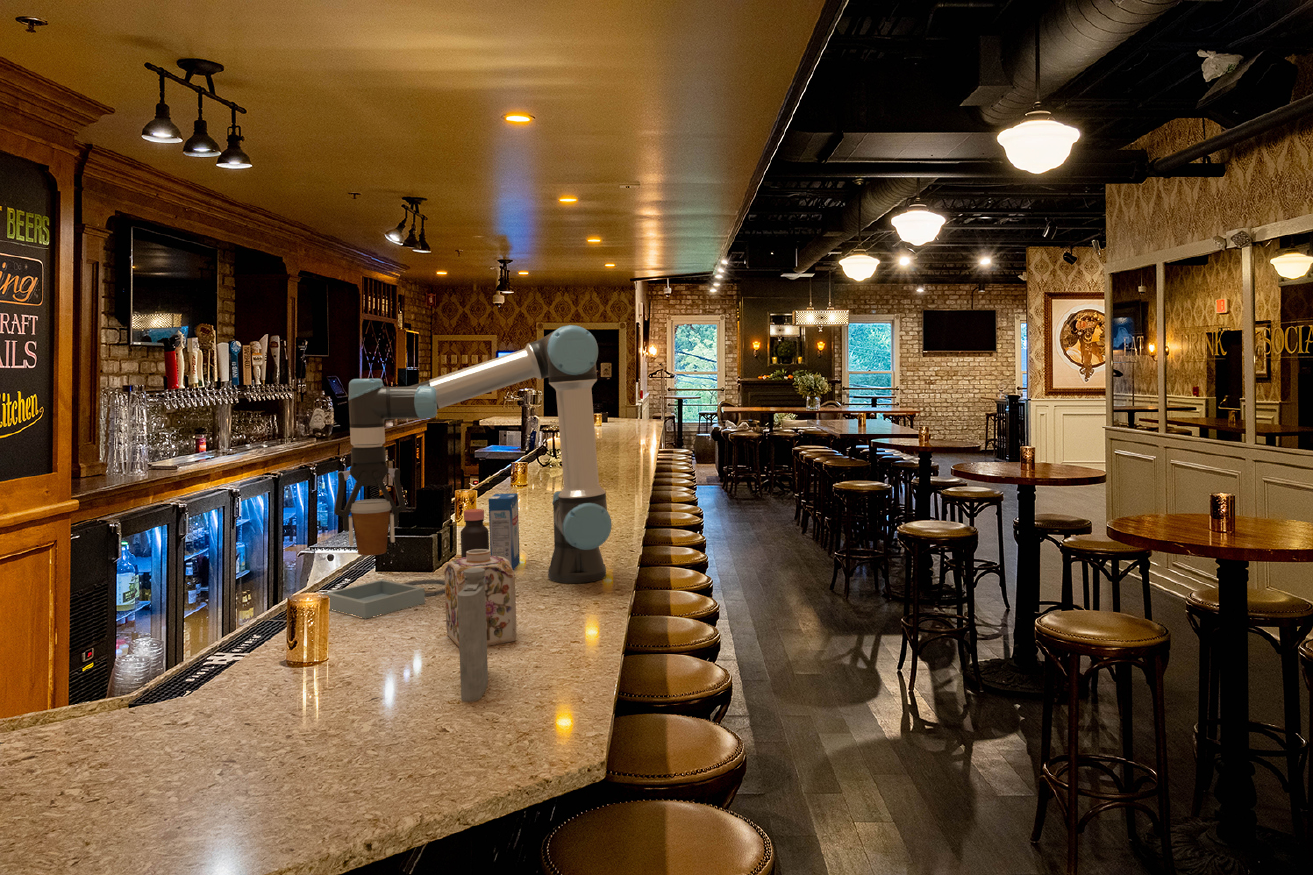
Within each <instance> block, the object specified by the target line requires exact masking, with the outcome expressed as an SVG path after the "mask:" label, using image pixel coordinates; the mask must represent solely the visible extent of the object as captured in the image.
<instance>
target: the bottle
mask: <svg viewBox="0 0 1313 875" xmlns="http://www.w3.org/2000/svg"><path fill="white" fill-rule="evenodd" d="M463 521H464V522H465V525H464V527H462V529H461V531H460V553H461V554H460V555H461V557H460V558H463V557H466V552H467V551H469V550H475V549H487V550H489V551H490V530H489V529H488V528H487V527H486V526H485V524H484V521H485V510H484V509H483V508H473V509H472V508H471V509H465V510H463Z"/></svg>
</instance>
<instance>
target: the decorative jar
mask: <svg viewBox="0 0 1313 875" xmlns="http://www.w3.org/2000/svg"><path fill="white" fill-rule="evenodd" d="M470 568H483V569H485V575H483V576H484V578H485V602H486V632H487V647H489V646H494V645H500V644H506V643H507V644H508V643H512V642H516V640H517V599H516V597H517V594H516V579H515V578H516V577H515V576H516V575H515V573H514V572H515V571H513V569H512V567H511V564H510V562H509V560H507V559H506V558H504V557H499V556H490V549H489V550H487V549H475V550H469V551H467V552H466V557H463V558H461V557H460V558H457V559H456V558H455V559H453V560H451V561H449V562H448V564H447V565H446V567H445V571H444V572H443V573H444V580H445V585H444V588H445V593H444V599H445V601H444V603H445V625H446V626H445V627H446V634H447V636H448V637H449V638H450V639H451V640H452V641H453V642H454V643H455V645H456V646H457V647H458V648H459V624H458V597H457V594H458V593H459V592H460V591H461V590H462V589H463V588H464V586H465V576H464V570H466V569H470Z"/></svg>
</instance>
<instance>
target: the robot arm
mask: <svg viewBox="0 0 1313 875" xmlns="http://www.w3.org/2000/svg"><path fill="white" fill-rule="evenodd" d="M598 357H599V346H598V343H597V340H596V338H595V336H594V335H593V334H592V333H591V332H590V331H589V330H587V329H586V328H584V327H582V326H579V325H576V324H575V325H572V324H568V325H563V326H560V327H559V328H557V329H555V330H554V331H552V332H550V333H549V334H547V335H546V336H543V337H542V338H539V339H537V340H534V341H532V342H528V343H526V346H525V348H523V349H520V350H516V351H513V352H511V353H508V354H504V355H501V356H499V357H496V358H493V359H490V360H486V361H483V362H481V363H477V364H474V365H471V366H468V367H464V368H461V369H459V370H455V371H453V372H449V373H447V374H444V375H439V376H437V377H435V378H431V379H429V380H425V381H422V382H419V383H416V384H412V385H409V386H384V383H383V379H381V378H353V379H351V380H350V381H349V383H348V414H349V433H350V436H349V437H350V444H351V446H352V447H351V448H350V459H351V461H350V463H351V465H350V468H349V470H345V471H341V470H340V471H337V478H338V486H337V493H336V499H335V503H334V510H333V511H334V512H333V513H334V515H335V516H337V517H338V516H339V517H341V518H342V525H343V527H342V528H343V531H344V532H348V544H349V547H354V527H353V521H352V515H351V510H350V509H351V507H352V504H353V503H354V502H355V501H357V498H358V496H359V494H360V491H361V489H362V487H363V488H365V487H369V486H373V487H376V486H377V487H378V488H379V489H380V491H381V493H382V495H383V496H384V499H386V500H387V501H389V502H390V505H391V506H392V507H391V510H390V511H391V512H390V518H389V541H390V543H395V541H396V538H395V528H399V526H400V524H399V523H400V522H399V519H400V518H399V516H400V515H399V514H400V513H401V512H403V511H406V510H407V505H406V500H405V495H404V493H403V488H402V484H401V479H400V478H401V470H400V469H399V468H397V467H395V468H389V467H388V465H387V459H386V458H387V457H386V456H387V455H386V447H385V445H383V444H385V443H386V435H385V434H386V433H385V429H386V428H385V420H409V419H410V420H411V419H412V420H413V419H414V420H415V419H420V420H425V419H432V418H435V417H436V416H437V415H438V410H439V409H443V408H445V407H448V406H451V405H455V404H457V403H461V402H464V401H466V400H469V399H472V398H476V397H478V396H481V395H485V394H487V393H491V392H494V391H496V390H501V389H503V388H506V387H508V386H512V385H515V384H518V383H521V382H524V381H527V380H530V379H533V378H536V379H538V380H542V379H546V378H548V384H549V385H550V386H551V387H552V388H553V389H554V390H555V392H556V405H557V417H558V418H557V420H558V432H559V441H560V452H561V453H560V454H561V455H560V456H561V466H562V469H561V470H562V479H563V488H562V490H559V491H555V492H554V493H553V496H552V498H553V499H552V502H551V503H552V508H553V510H552V512H553V513H552V514H553V540H554V542H553V543H554V548H553V552H552V556H551V559H550V563H549V564H550V566H548V570H547V572H548V573H547V574H548V579H549V580H550V581H552V582H556V583H562V584H582V583H584V584H585V583H591V582H596V581H601V580H602V579H604V578H606V576H607V567H606V564H605V563H604V559H603V557H602V552H601V549H600V547H601V546H602V545H603V544H605V542H606V541H607V540H608V539H609V537H610V536H611V535H610V534H611V531H612V526H613V525H612V519H611V515H610V513H609V512H608V504H607V503H608V502H607V494H606V493H607V492H606V490H605V489H604V488H603V487H602V486H601V485H600V482H599V481H600V479H599V468H598V456H597V444H596V442H597V440H596V430H595V420H594V419H595V417H594V406H593V405H594V404H593V394H592V391H593V390H592V388H593V386H594V384H595V383H597V381H598V376H597V374H598V373H597V360H598ZM387 474H389V475H390V478H392V481H393V484H394V488H395V492H396V496H397V501H398V506H397V505H396V503H395V501H394V498H392V496H391V494H390V492H389V490H388V488H387V487H386V485H385V482H384V479H385V478H386V476H387ZM349 477H351V478H353V479H354V480H355V484H354V486H353V489H352V490H351V492H350V495H349V497H348V500H347V502H346V505H345V506H344V509H343V510H342V506H343V505H342V503H343V499H344V491H345V488H346V487H345V486H346V481H347V480H348V479H349Z"/></svg>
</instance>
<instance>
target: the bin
mask: <svg viewBox="0 0 1313 875" xmlns="http://www.w3.org/2000/svg"><path fill="white" fill-rule="evenodd" d="M403 583H404V582H396V581H391V580H387V579H384V578H383V579H378V580H374V581H370V582H366V583H362V584H359V585H358V584H357V585H353V586H350V587H345V588H344V587H343V588H341V589H336V590H332V591H327V592H324V593H323V596H324V595H328V596H329V598H330V610H329V611H331V612H333V611H332V609H333V610H336V611H340V612H344V613H347V614H353V615H356V616H359V617H362V618H365V619H364V620H367V619H366V618H369V619H371V618H370V617H373V616H376V617H378V616H377V615H380V614H384V615H388V614H390V612H391V613H394V612H398V611H401V610H400V609H402V610H404V609H403V608H405V609H408V608H407V607H409V608H412V607H413V608H414V607H417V606H420V605H422V604H423V605H424V604H425V603H426V602H425V601H426V598H425V597H426V596H425V593H424V592H425V588H424V587H422V586H421V587H420V586H416V585H407V584H403ZM397 610H398V611H397ZM393 611H394V612H393ZM380 616H381V615H380ZM362 618H361V619H362ZM373 618H374V617H373Z"/></svg>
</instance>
